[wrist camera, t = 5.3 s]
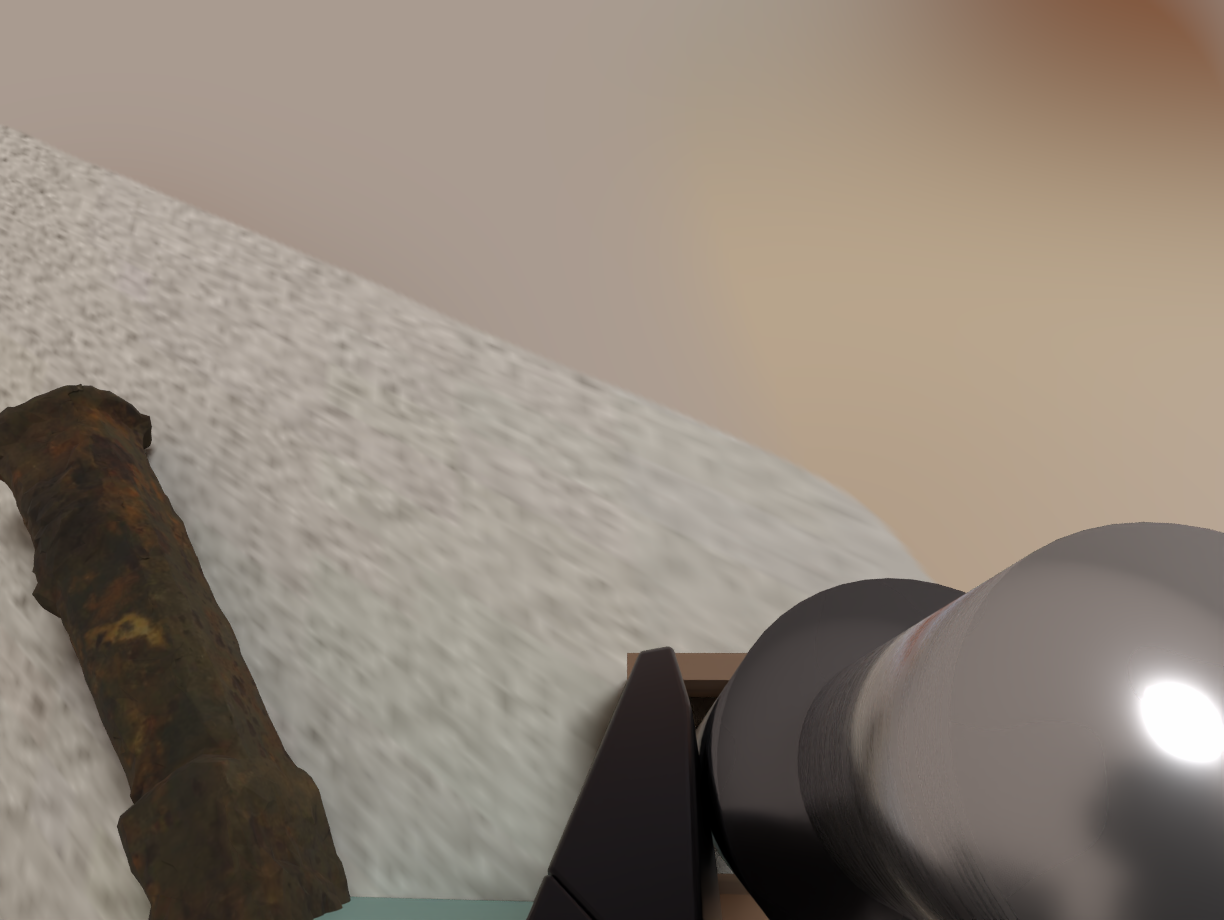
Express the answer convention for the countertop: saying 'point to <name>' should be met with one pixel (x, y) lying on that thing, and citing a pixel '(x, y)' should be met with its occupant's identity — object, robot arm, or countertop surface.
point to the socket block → (708, 680)
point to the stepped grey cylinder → (986, 742)
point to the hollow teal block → (428, 909)
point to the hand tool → (164, 673)
